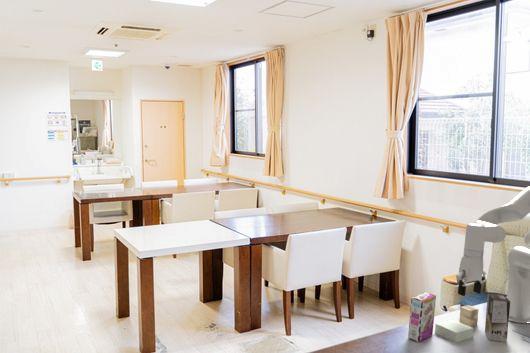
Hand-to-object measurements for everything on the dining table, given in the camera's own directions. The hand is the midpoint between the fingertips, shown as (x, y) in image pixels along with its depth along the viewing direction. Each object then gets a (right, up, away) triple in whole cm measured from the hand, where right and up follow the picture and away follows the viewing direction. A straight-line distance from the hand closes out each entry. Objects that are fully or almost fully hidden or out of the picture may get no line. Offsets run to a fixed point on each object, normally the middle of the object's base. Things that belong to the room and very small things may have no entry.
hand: (469, 293), depth 207 cm
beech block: (0, -13, +1) cm, 13 cm away
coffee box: (+6, -15, -11) cm, 19 cm away
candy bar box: (-24, -14, -14) cm, 31 cm away
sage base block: (-10, -14, -10) cm, 20 cm away
